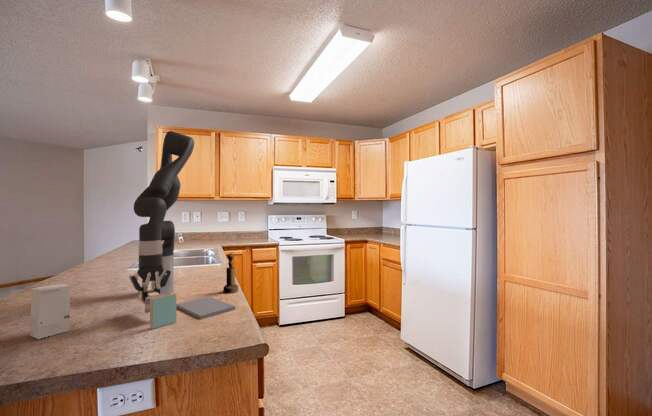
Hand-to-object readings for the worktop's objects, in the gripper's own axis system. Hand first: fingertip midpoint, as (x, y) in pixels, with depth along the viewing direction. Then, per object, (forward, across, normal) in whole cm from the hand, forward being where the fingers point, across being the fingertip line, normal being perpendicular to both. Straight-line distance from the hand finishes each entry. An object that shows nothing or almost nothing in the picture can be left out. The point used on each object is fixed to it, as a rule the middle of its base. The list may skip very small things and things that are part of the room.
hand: (151, 300), depth 113 cm
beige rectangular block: (+2, 0, 0) cm, 2 cm away
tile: (+6, 0, +12) cm, 13 cm away
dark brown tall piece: (+6, -38, -8) cm, 39 cm away
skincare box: (+6, +26, -9) cm, 28 cm away
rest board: (+6, -18, +6) cm, 20 cm away
